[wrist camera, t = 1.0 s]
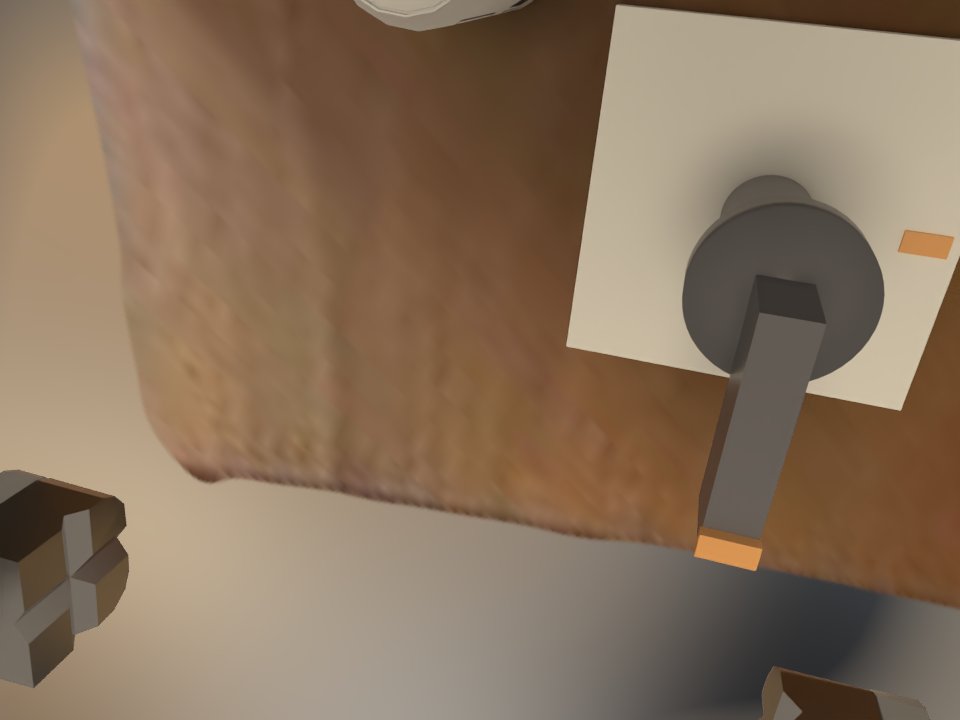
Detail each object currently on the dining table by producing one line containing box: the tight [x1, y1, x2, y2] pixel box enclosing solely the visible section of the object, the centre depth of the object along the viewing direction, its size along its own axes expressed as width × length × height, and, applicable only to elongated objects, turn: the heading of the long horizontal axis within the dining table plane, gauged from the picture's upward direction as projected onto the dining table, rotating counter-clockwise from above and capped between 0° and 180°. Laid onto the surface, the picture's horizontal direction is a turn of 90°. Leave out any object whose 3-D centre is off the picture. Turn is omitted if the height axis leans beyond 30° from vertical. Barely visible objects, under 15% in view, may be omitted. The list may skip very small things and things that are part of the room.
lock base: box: [566, 4, 960, 411], centre depth 41 cm, size 20×20×12 cm
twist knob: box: [682, 196, 885, 571], centre depth 34 cm, size 14×8×7 cm, turn 175°
